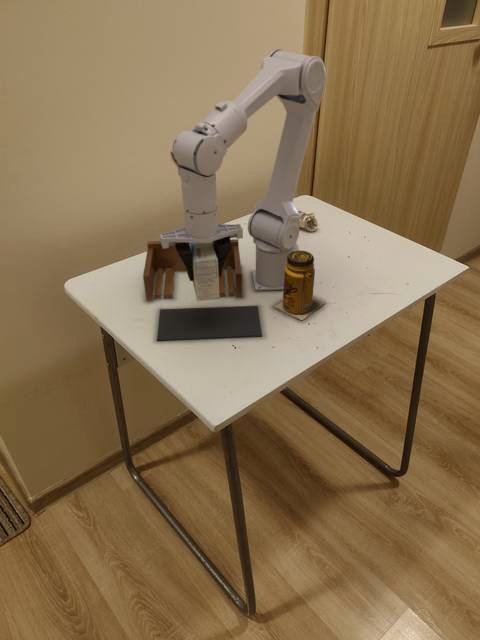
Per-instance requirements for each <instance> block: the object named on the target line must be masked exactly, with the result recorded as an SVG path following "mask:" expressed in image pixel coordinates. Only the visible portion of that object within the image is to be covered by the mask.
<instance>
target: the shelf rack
mask: <svg viewBox="0 0 480 640" xmlns="http://www.w3.org/2000/svg"><path fill="white" fill-rule="evenodd" d="M230 241H231V243H232V249H231V251H230V252H229V254H228V256H227V258H226V260H225V263H224V266H223V269H222V274H221V277H219V295H220V297H226V282H225V270H226V276H227V277H226V279H227V289H228V290H227V291H228V297H234V296H235V295H236V297H235V298H237V299H238V298H243V271H242V263H241V253H240V246H239V239H237V238H236V239H235V238H230ZM212 243H213V241H212ZM146 246H147V250H146V257H145V262H144V263H145V264H144V268H143V273H142V274H143V275H142V278H143V284H144V285H143V286H144V292H145V296H146V301H147V302H152V301H154V299H157V300H158V299H159V300H160V299H161V297H162V289H163V299H173V298H174V297H173V296H174V286H175V285H174V283H175V273H176V272H185V271H186V272H187V269H186V266H185V264H184V263H183V261H182V259H181V258H180V256H179V255H178V253H177V250H176V248H175V245H174V246H169V248H165V249H163V247H162V244H161V240H153V241H149V240H148V241H147V242H146ZM213 246H214V243H213ZM164 272H165V277H164ZM163 278H164V280H163ZM163 281H164V286H163Z"/></svg>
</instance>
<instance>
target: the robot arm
mask: <svg viewBox="0 0 480 640" xmlns="http://www.w3.org/2000/svg"><path fill="white" fill-rule="evenodd" d="M327 80H328V74H327V71H326V66H325V63H324V61H323V59H322V58H321V57H319V56H318V55H307V54H302V53H297V52H291V51H287V50H283V49H280V48H275V49H273V50H271V51H270V52H269V54H268V55H267V56H266V57H264V58H263V59H262V60H261V66H260V70H259V72H257V74H256V75H255V76H254V77H253V78H252V80H250V82H249V83H248V84H247V85H246V87H244V88H243V90H242V91H240V93H239V94H238V96H237V97H235V99H234V100H233V101H230V100H223V101H218V102H217V103H216V104H215V105H214V108H213V110H211V112H209V113H208V114H207V115H206V116H205V117H204V118H203V119H202V120H201V121H199V122H197V123H196V124H195V126H194V128H193V129H192V130H190V129H187V130H183V131H182V132H180V133H178V135H177V136H176V137H175V138H174V140H173V142H172V150H170V152H169V154H170V158H171V160H172V162H173V164H174V165H175V166H176V168H177V175H178V176H179V177H180V185H181V194H182V195H181V197H182V206H183V219H184V227H182V228H178V229H175V230H172V231H168V232H164V233H160V234H159V237H160V241H161V244H162V247H163V249H165V248H169V246H174V245H175V248H176V250H177V253H178V255H179V256H180V258H181V259H182V261H183V263H184V264H185V266H186V269H187V271H186V273H187V277H188V279H189V281H190V282H192V281H194V275H193V269H192V252H191V250H190V246H189V243H208V242H212V241H213V243H214V249H215V252H216V255H217V259H218V274H219V277H221V274H222V269H223V266H224V263H225V260H226V258H227V256H228V254H229V252H230V251H231V249H232V243H231V241H230V240H231V239H235V238H236V239H238V240H239V239H243V238H244V228H243V226H242V225H241V224H240V223H238V224H237V223H236V224H235V223H234V224H225V223H219V220H218V199H217V198H218V197H217V196H218V195H217V176H216V172H218V171H219V170H220V168H221V166H222V163H223V160H224V157H225V156H226V155H227V153H228V149H229V148H230V147H231V146H232V145H233V144H234V143H235V142H236V141H237V140H238V139H239V138H241V136H242V135H243V134H244V133H245V132H246V131H247V129H248V119H249V118H250V117H252V116H253V115H254V114H255V113H257V112H258V111H259V110H260V109H262V108H263V107H264V106H265V105H266V104H268V103H269V102H270V101H271V100H272V99H273V98H275V97H276V98H277V100H278V101H279V102H280V103H282V105H283V108H284V109H285V113H286V115H285V119H284V123H283V127H282V131H281V136H280V140H279V144H278V149H277V153H276V157H275V160H274V161H275V162H274V165H273V169H272V174H271V178H270V181H269V187H268V191H267V195H266V196H265V197H263V198H260V199H259V200H258V201H256V202H255V204H254V208H253V211H252V214H251V215H250V217H249V218H248V221H247V232H248V235H249V236H250V237H251V238H252V242H253V244H254V245H255V269H254V270H252V279H253V285H254V286H253V287H254V290H255V291H280V290H281V291H282V290H283V291H284V273H285V267H286V266H287V256H288V254H289V253H291V252H293V251H298V250H299V251H300V247H299V244H298V243H297V242H298V239H299V235H300V227H299V222H300V218H301V216H300V213H299V212H298V208H297V207H296V206H295V205H294V202H293V201H294V198H295V194H296V191H297V187H298V182H299V179H300V175H301V172H302V167H303V164H304V160H305V156H306V152H307V149H308V145H309V141H310V138H311V133H312V129H313V125H314V121H315V118H316V113H317V112H318V111H319V109H320V105H321V102H322V98H323V94H324V90H325V87H326V86H325V85H326V83H327Z"/></svg>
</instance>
